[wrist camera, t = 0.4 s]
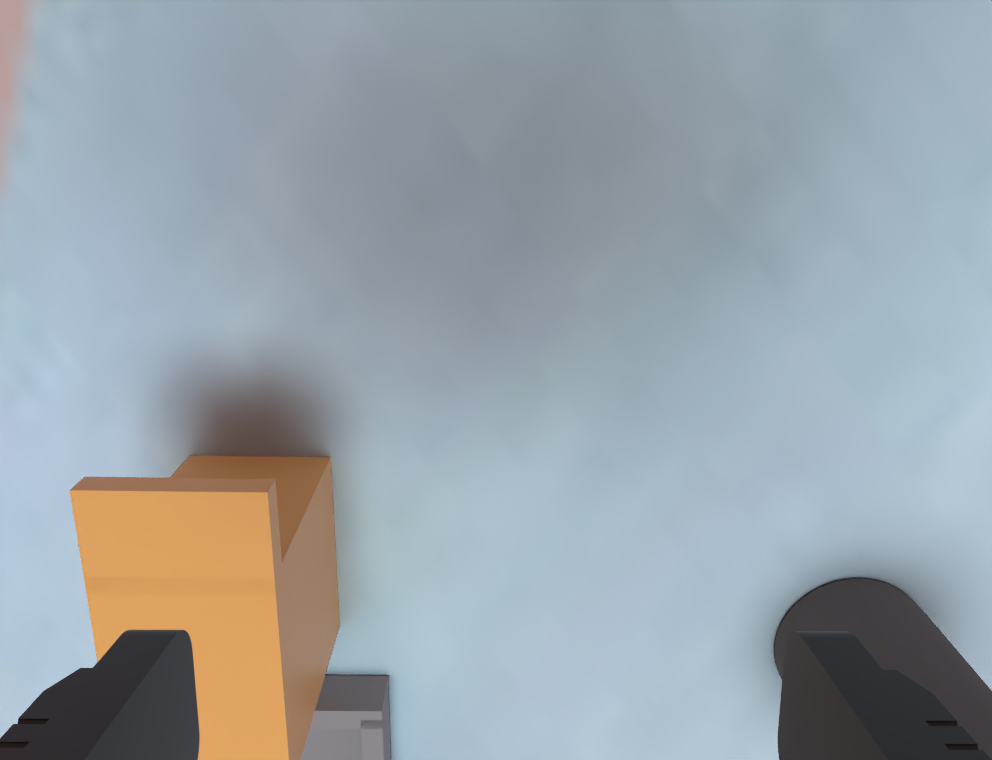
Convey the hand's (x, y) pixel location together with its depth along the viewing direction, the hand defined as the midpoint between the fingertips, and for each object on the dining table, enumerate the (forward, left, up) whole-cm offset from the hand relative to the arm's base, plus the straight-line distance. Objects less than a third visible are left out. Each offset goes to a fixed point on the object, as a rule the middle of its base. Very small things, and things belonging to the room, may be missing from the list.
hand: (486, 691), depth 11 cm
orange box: (+7, -8, -18) cm, 21 cm away
